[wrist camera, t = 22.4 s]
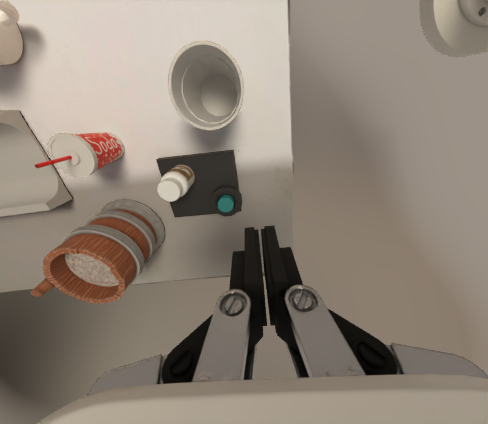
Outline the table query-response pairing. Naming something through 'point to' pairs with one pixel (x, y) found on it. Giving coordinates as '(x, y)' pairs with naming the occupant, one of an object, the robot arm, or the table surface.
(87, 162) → the beverage cup
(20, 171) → the grey desk tray
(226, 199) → the button
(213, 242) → the table surface
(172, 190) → the pill bottle
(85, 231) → the mug
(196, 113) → the cup
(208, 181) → the scale
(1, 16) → the mug
